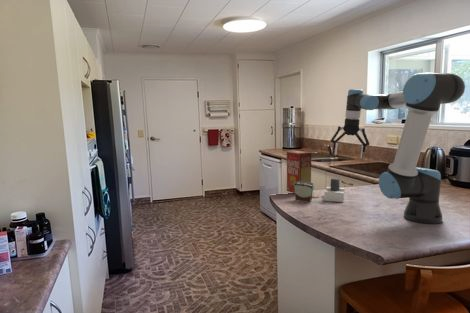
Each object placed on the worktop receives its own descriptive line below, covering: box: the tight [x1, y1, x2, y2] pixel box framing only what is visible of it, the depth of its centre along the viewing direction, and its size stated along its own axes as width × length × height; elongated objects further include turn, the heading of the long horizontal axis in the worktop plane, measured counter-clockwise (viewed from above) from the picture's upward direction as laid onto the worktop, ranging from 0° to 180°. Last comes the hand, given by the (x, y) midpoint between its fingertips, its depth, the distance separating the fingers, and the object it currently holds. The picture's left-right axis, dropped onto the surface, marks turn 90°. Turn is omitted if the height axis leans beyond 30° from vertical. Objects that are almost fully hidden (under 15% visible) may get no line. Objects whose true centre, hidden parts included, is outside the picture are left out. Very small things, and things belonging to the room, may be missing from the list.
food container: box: [293, 181, 315, 204], centre depth 178 cm, size 12×6×10 cm, turn 47°
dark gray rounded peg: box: [330, 178, 341, 191], centre depth 181 cm, size 5×5×11 cm
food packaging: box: [286, 150, 312, 194], centre depth 196 cm, size 13×9×25 cm
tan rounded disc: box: [312, 193, 320, 199], centre depth 187 cm, size 7×7×1 cm
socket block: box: [323, 186, 346, 203], centre depth 182 cm, size 13×10×5 cm
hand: (348, 156), depth 179 cm, fingers open, 13 cm apart
